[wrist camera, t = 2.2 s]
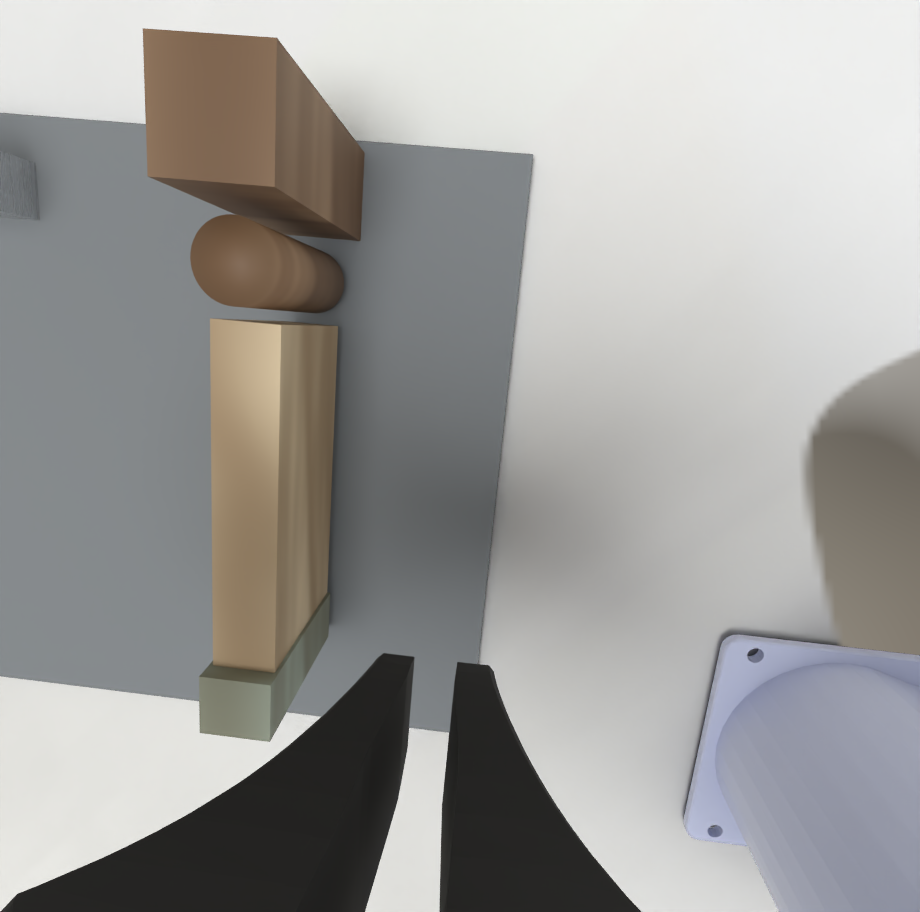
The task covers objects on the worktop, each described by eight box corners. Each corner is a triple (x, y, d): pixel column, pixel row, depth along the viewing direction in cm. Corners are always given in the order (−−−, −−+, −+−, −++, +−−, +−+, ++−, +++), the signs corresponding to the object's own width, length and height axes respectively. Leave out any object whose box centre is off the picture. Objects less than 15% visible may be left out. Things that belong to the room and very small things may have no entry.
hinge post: (368, 156, 17) (276, 37, 10) (363, 243, 17) (274, 186, 10) (287, 150, 17) (142, 28, 10) (285, 236, 17) (147, 176, 10)
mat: (532, 158, 16) (533, 154, 16) (470, 727, 21) (470, 734, 20) (-124, 107, 17) (-139, 102, 17) (-54, 662, 22) (-64, 668, 21)
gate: (345, 252, 16) (276, 217, 11) (329, 634, 19) (268, 744, 14) (284, 247, 17) (189, 211, 11) (277, 628, 19) (197, 735, 14)
